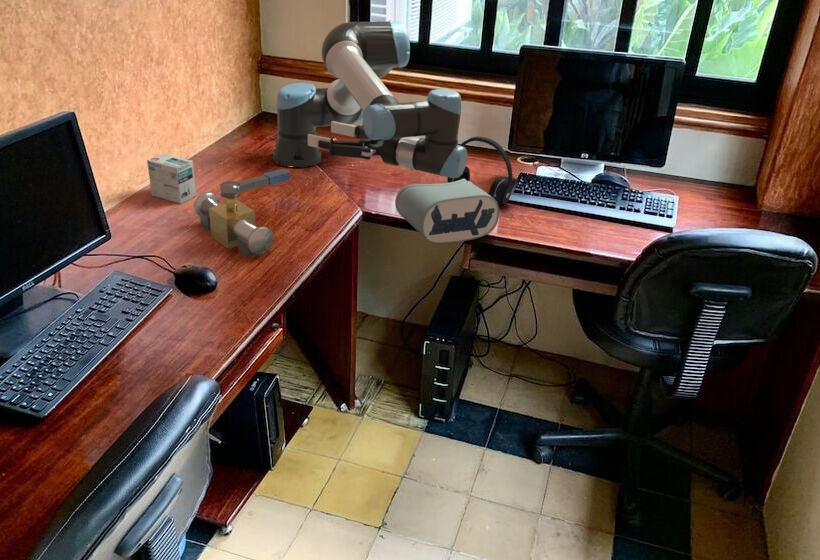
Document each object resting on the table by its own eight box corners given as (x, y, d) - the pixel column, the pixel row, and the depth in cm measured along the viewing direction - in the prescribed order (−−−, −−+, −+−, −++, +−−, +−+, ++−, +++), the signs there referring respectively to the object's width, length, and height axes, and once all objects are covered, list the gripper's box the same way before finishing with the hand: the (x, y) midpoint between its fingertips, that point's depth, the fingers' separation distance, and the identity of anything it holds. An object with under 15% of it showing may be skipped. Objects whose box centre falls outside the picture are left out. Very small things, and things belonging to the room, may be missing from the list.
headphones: (513, 203, 215) (521, 144, 206) (501, 211, 210) (509, 150, 201) (455, 184, 224) (461, 127, 215) (443, 191, 219) (448, 132, 210)
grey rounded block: (421, 249, 186) (423, 202, 180) (392, 220, 202) (394, 176, 196) (496, 238, 195) (501, 192, 189) (464, 211, 210) (467, 168, 204)
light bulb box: (197, 196, 206) (193, 160, 200) (181, 204, 201) (177, 167, 195) (167, 187, 209) (162, 152, 204) (150, 196, 204) (145, 159, 199)
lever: (227, 199, 177) (226, 190, 175) (216, 193, 179) (216, 184, 178) (291, 181, 188) (291, 172, 187) (281, 175, 191) (280, 167, 190)
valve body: (193, 224, 191) (189, 181, 185) (220, 216, 196) (217, 174, 190) (248, 262, 175) (246, 217, 169) (276, 253, 180) (274, 208, 174)
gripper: (379, 181, 166) (295, 162, 173) (420, 150, 184) (342, 134, 191) (381, 150, 162) (295, 131, 169) (422, 121, 181) (343, 106, 188)
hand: (320, 133), depth 180 cm, fingers open, 11 cm apart
